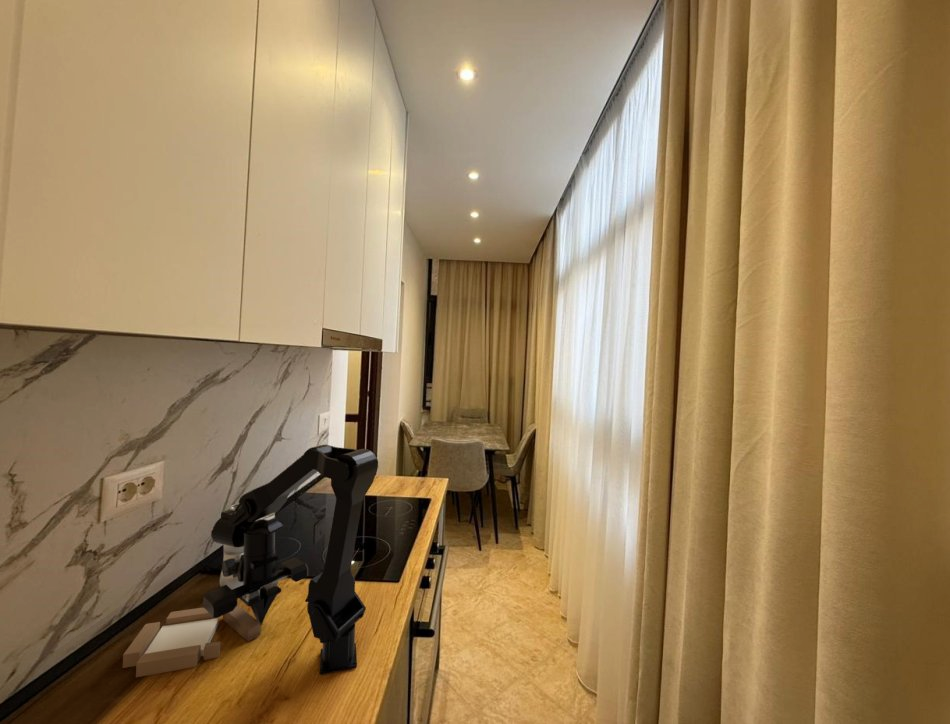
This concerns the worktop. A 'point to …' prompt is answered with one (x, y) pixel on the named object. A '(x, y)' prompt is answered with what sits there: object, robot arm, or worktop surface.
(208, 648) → the seat
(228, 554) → the silver metal bottle
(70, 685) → the worktop surface
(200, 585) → the worktop surface
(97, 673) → the worktop surface
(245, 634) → the leg
